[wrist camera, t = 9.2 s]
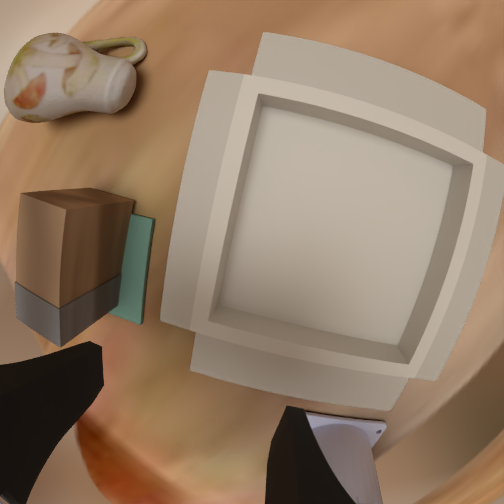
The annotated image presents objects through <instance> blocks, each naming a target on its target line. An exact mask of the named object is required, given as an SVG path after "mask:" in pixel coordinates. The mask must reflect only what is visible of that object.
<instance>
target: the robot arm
mask: <svg viewBox="0 0 504 504" xmlns="http://www.w3.org/2000/svg"><path fill="white" fill-rule="evenodd" d="M103 386H104V379H103V362H102V346H99V345H97V344H95V343H93V342H91V341H88V342H85V343H81V344H78V345H75V346H72V347H69V348H66V349H63V350H60V351H57V352H54V353H51V354H48V355H44V356H41V357H37V358H33V359H29V360H26V361H21V362H17V363H11V364H4V365H0V496H1V497H2V498H3V499H4V500H5V501H7V502H8V503H9V504H26V502H27V499H28V497H29V495H30V492H31V490H32V488H33V486H34V483H35V481H36V479H37V477H38V475H39V473H40V472H41V470H42V468H43V466H44V465H45V463H46V461H47V459H48V458H49V456H50V455H51V453H52V451H53V450H54V448H55V447H56V445H57V444H58V442H59V441H60V440H61V439H62V437H63V436H64V435H65V434H66V433H67V431H68V430H69V429H70V428H71V427H72V426H73V425H74V424H75V422H76V421H77V420H78V419H79V418H80V417H81V416H82V415H83V413H84V412H85V411H86V410H87V409H88V408H89V407H90V405H91V404H92V403H93V401H94V400H95V398H96V397H97V395H98V394H99V392H100V391H101V389H102V387H103ZM386 427H387V425H386V422H383V421H371V420H361V419H352V418H343V417H336V416H329V415H322V414H316V413H310V412H305V411H304V409H302V408H297V407H291V406H286V409H285V411H284V413H283V416H282V418H281V420H280V423H279V425H278V427H277V429H276V432H275V434H274V436H273V438H272V441H271V446H270V451H269V457H268V462H267V478H266V495H265V504H383V502H382V497H381V492H380V487H379V482H378V477H377V473H376V468H375V463H374V459H373V454H372V450H371V449H372V447H373V446H374V445H375V443H376V442H377V441H378V439H379V438H380V436H381V435H382V433H383V432H384V431H385V429H386ZM378 430H379V431H378ZM0 504H3V503H2V502H1V501H0Z"/></svg>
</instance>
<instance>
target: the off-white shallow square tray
mask: <svg viewBox="0 0 504 504" xmlns="http://www.w3.org/2000/svg"><path fill="white" fill-rule="evenodd" d="M485 120H486V109H485V108H483V107H482V106H480V105H478V104H476V103H475V102H473V101H471V100H469V99H468V98H466V97H464V96H462V95H460V94H458V93H456V92H454V91H452V90H451V89H449V88H447V87H445V86H442V85H440V84H438V83H436V82H434V81H432V80H430V79H427V78H425V77H423V76H421V75H418V74H416V73H414V72H411V71H409V70H406V69H404V68H401V67H399V66H396V65H393V64H391V63H388V62H385V61H382V60H380V59H377V58H374V57H371V56H368V55H364V54H361V53H358V52H355V51H351V50H348V49H344V48H341V47H337V46H333V45H329V44H325V43H321V42H316V41H312V40H307V39H302V38H297V37H292V36H286V35H280V34H274V33H267V32H263V35H262V39H261V42H260V46H259V49H258V53H257V57H256V60H255V64H254V68H253V71H252V75H246V74H239V73H231V72H222V71H213V70H209V72H208V76H207V79H206V83H205V86H204V90H203V93H202V97H201V101H200V105H199V108H198V112H197V116H196V120H195V124H194V128H193V132H192V136H191V140H190V145H189V149H188V153H187V158H186V162H185V167H184V172H183V176H182V181H181V186H180V191H179V196H178V201H177V206H176V212H175V217H174V223H173V229H172V235H171V241H170V247H169V253H168V260H167V267H166V274H165V281H164V288H163V296H162V304H161V313H160V321H162V322H165V323H168V324H171V325H174V326H177V327H180V328H184V329H187V330H190V331H193V332H196V335H195V341H194V347H193V353H192V359H191V365H190V370H191V371H194V372H197V373H200V374H203V375H207V376H210V377H213V378H217V379H220V380H224V381H228V382H231V383H235V384H239V385H242V386H246V387H250V388H254V389H259V390H263V391H267V392H272V393H276V394H281V395H285V396H290V397H295V398H300V399H306V400H311V401H317V402H323V403H329V404H336V405H343V406H350V407H358V408H366V409H375V410H386V411H391V409H392V408H393V406H394V404H395V403H396V401H397V399H398V398H399V396H400V394H401V392H402V391H403V389H404V387H405V385H406V384H407V382H408V380H409V378H414V379H423V380H433V381H436V380H437V378H438V377H439V375H440V373H441V371H442V369H443V367H444V366H445V364H446V362H447V360H448V358H449V356H450V354H451V352H452V350H453V348H454V346H455V344H456V342H457V339H458V337H459V335H460V333H461V331H462V328H463V326H464V324H465V322H466V319H467V317H468V314H469V312H470V309H471V307H472V304H473V302H474V299H475V297H476V294H477V291H478V288H479V286H480V283H481V280H482V277H483V274H484V271H485V268H486V264H487V261H488V258H489V254H490V251H491V247H492V244H493V240H494V236H495V232H496V228H497V224H498V219H499V215H500V210H501V205H502V200H503V194H504V164H502V163H500V162H499V161H497V160H495V159H493V158H492V157H490V156H488V155H486V154H485V153H483V144H484V133H485Z"/></svg>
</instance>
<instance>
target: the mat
mask: <svg viewBox="0 0 504 504" xmlns="http://www.w3.org/2000/svg"><path fill="white" fill-rule="evenodd" d="M154 223H155V219H153V218H149V217H145V216H141V215H136V214H132V213H131V218H130V223H129V228H128V233H127V239H126V245H125V251H124V257H123V263H122V270H121V274H122V279H121V286H120V294H119V303H118V306H117V307H115V308H114V309H112V310H111V311H110V312H108V313H110V314H113V315H115V316H118V317H121V318H123V319H126V320H128V321H131V322H134V323H136V324H139V325H141V324H142V323H143V313H144V302H145V291H146V282H147V273H148V265H149V257H150V250H151V243H152V236H153V229H154Z"/></svg>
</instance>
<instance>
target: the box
mask: <svg viewBox="0 0 504 504" xmlns="http://www.w3.org/2000/svg"><path fill="white" fill-rule="evenodd" d="M133 203H134V200H130V199H127V198H123V197H120V196H117V195H113V194H110V193H106V192H103V191H100V190H96V189H93V188H80V189H64V190H50V191H38V192H27V193H21V196H20V204H19V215H18V227H17V248H16V282H15V302H16V314H17V319H19V320H20V321H21V322H23V323H24V324H26V325H27V326H28V327H30V328H31V329H33V330H34V331H36V332H37V333H39V334H40V335H42V336H43V337H45V338H46V339H48V340H49V341H51V342H52V343H54V344H56V345H57V346H59V347H60V348H61V347H62V346H64V345H65V344H66V343H68V342H69V341H70V340H72V339H73V338H74V337H76V336H77V335H78V334H80V333H81V332H82V331H84V330H85V329H86V328H88V327H89V326H90V325H92V324H93V323H95V322H96V321H97V320H99V319H100V318H101V317H103V316H104V315H105V314H107V313H108V312H110V311H111V310H112V309H114V308H115V307H117V306H118V303H119V294H120V286H121V279H122V274H121V270H122V263H123V257H124V251H125V245H126V239H127V233H128V228H129V223H130V218H131V213H132V208H133Z"/></svg>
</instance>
